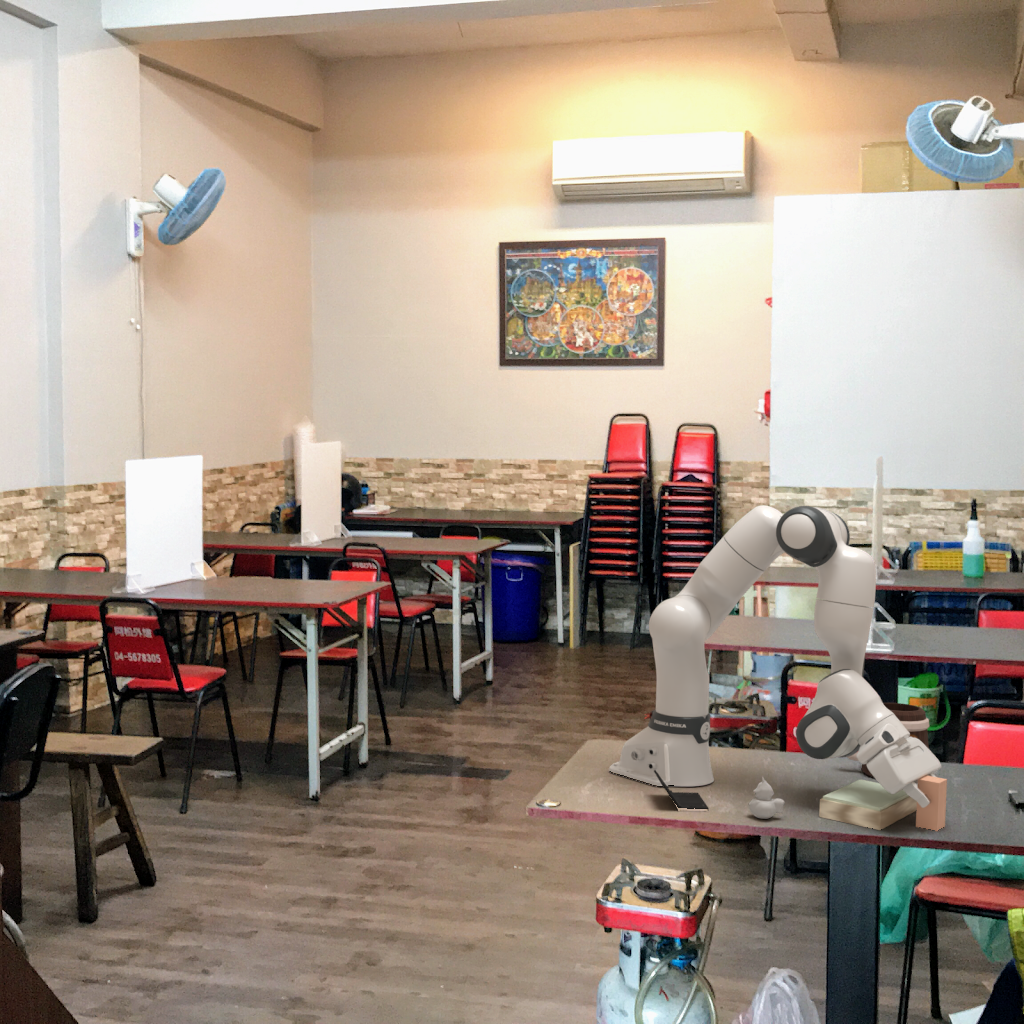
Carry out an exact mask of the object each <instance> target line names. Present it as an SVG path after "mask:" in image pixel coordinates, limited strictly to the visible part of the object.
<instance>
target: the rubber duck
mask: <svg viewBox="0 0 1024 1024" xmlns="http://www.w3.org/2000/svg"><path fill="white" fill-rule="evenodd" d="M753 792H754V796H755V797H754V798H752V799H751V800H750V801H749V803H748V809H749V812H750V813H751V814H752V815H753V816H754V817H755V818H757V819H762V820H763V819H764V820H767V819H770V818H772V817H774V815H775V814H783V812H784V808H783V807H784V806H785V803H786V801H785V800H784V799H783V798H780V797H777V798H772V797H773V796H774V794H775V793H774V790H773V788H772V786H771V785H770V783H768V781H767V780H765V778H764V775H762V777H761V781H760V782H759V783H758V784H757V787H756V788H754V789H753Z"/></svg>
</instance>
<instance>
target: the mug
mask: <svg viewBox="0 0 1024 1024" xmlns="http://www.w3.org/2000/svg"><path fill="white" fill-rule="evenodd" d="M882 703H883V704H884V705H885V707H886V708H887V709H889V710H890V711H891V712H893V713H894V715H895V716H896V717H897V718H898V719H899V721H900V722H901V723H902V724H903V725H904V727H905V728H906V729H907V730H908V732H909V733H910V737H913V738H917V739H919V740H920V741H921V742H922V743H923V744H924V745H925V746H926V747H927V748H928V749H929V750H930V748H929V746H930V745H929V735H928V734H929V733H928V729H929V728H930V721H929V718H928V717H927V715H926V714H927V713H926V711H925V710H924V709H923V708H922V707H920V706H917V705H914V704H913V705H912V704H909V703H898V702H882ZM857 753H858V752H856V753H855V754H853V755H852V756H849V757H846V758H847V759H848V760H851V761H855V762H856V761H857V762H860V761H859V760H858V759H857V757H856V755H857ZM861 770H862V772H863V773H864V774H865V775H866V776H868V777H870V776H871V778H872V779H875V777H874V776H873V775H872V774H871V773H870V771H869V770H868V768H867V764H862V763H861Z"/></svg>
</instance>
